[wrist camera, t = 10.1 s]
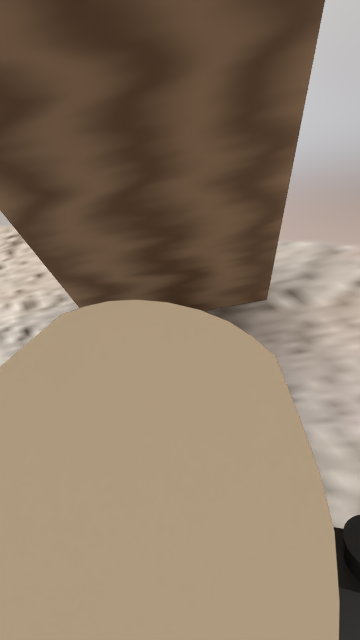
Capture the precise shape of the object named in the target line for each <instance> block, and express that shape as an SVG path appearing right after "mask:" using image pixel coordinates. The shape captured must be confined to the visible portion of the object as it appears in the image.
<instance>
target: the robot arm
mask: <svg viewBox="0 0 360 640" xmlns="http://www.w3.org/2000/svg"><path fill="white" fill-rule="evenodd" d="M333 528H334V532H335V546H336V560H337V574H338V588H339V640H360V515H357V516H354V517H352V518H351V519H349V520H348V521H347V522H346V524H345V526H344V529H341V528H335V527H333Z"/></svg>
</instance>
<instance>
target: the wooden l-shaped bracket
mask: <svg viewBox="0 0 360 640" xmlns="http://www.w3.org/2000/svg"><path fill="white" fill-rule="evenodd" d="M324 2H325V0H0V211H1V212H2V213H3V214H4V215H5V217H6V218H7V219H8V220H9V222H10V223H11V224H12V225H13V227H14V228H15V229H16V230H17V231H18V233H19V234H20V235H21V236H22V238H23V239H24V240H25V241H26V243H27V244H28V245H29V246H30V247H31V249H32V250H33V251H34V252H35V254H36V255H37V256H38V257H39V259H40V260H41V261H42V262H43V263H44V265H45V266H46V267H47V268H48V270H49V271H50V272H51V273H52V275H53V276H54V277H55V278H56V279H57V281H58V282H59V283H60V284H61V286H62V287H63V288H64V289H65V291H66V292H67V293H68V294H69V295H70V297H71V298H72V299H73V300H74V302H75V303H76V304H77V305H78V307H79V308H82V307H85V306H90V305H94V304H98V303H103V302H107V301H121V300H146V301H157V302H168V303H172V304H177V305H181V306H185V307H190V308H194V309H198V310H201V311H205V310H211V309H216V308H222V307H227V306H233V305H238V304H244V303H250V302H255V301H261V300H266V299H267V296H268V290H269V285H270V280H271V275H272V270H273V265H274V260H275V254H276V249H277V244H278V239H279V234H280V229H281V224H282V218H283V213H284V208H285V203H286V198H287V193H288V188H289V182H290V177H291V172H292V167H293V162H294V157H295V152H296V146H297V141H298V136H299V130H300V125H301V121H302V115H303V110H304V105H305V100H306V94H307V90H308V85H309V79H310V74H311V69H312V64H313V59H314V54H315V49H316V44H317V38H318V33H319V28H320V23H321V18H322V13H323V7H324Z"/></svg>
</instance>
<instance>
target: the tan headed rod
mask: <svg viewBox="0 0 360 640" xmlns="http://www.w3.org/2000/svg"><path fill="white" fill-rule="evenodd" d="M0 640H339V588H338V574H337V560H336V546H335V532H334V528H333V524H332V520H331V516H330V512H329V508H328V504H327V500H326V496H325V492H324V488H323V484H322V480H321V476H320V473H319V470H318V467H317V464H316V462H315V459H314V456H313V453H312V451H311V448H310V445H309V442H308V440H307V437H306V434H305V431H304V428H303V426H302V423H301V420H300V417H299V415H298V412H297V410H296V407H295V405H294V402H293V399H292V397H291V394H290V392H289V389H288V387H287V384H286V382H285V379H284V377H283V374H282V371H281V369H280V366H279V364H278V361H277V359H276V356H275V355H274V354H273V353H271V352H270V351H269V350H268V349H267V348H265V347H264V346H263V345H262V344H261V343H260V342H258V341H257V340H256V339H255V338H254V337H252V336H251V335H249V334H248V333H246V332H244V331H243V330H241V329H240V328H238V327H237V326H235V325H234V324H232V323H231V322H229V321H226V320H224V319H221V318H219V317H216V316H214V315H211V314H209V313H206V312H204V311H201V310H198V309H194V308H190V307H185V306H181V305H177V304H172V303H168V302H157V301H146V300H121V301H107V302H103V303H98V304H94V305H90V306H85V307H82V308H79V309H76V310H73V311H70V312H67V313H65V314H62V315H60V316H59V317H58V318H57V319H55V320H54V321H53V322H52V323H51V324H50V325H48V326H47V327H46V328H45V329H44V330H43V331H41V332H40V333H39V334H38V335H37V336H36V337H34V338H33V339H32V340H31V341H30V342H29V343H27V344H26V345H25V346H24V347H23V348H21V349H20V350H19V351H18V352H17V353H16V354H15V355H14V356H12V357H11V358H10V359H9V360H8V361H7V362H6V363H5V364H3V365H2V366H1V367H0Z"/></svg>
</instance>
